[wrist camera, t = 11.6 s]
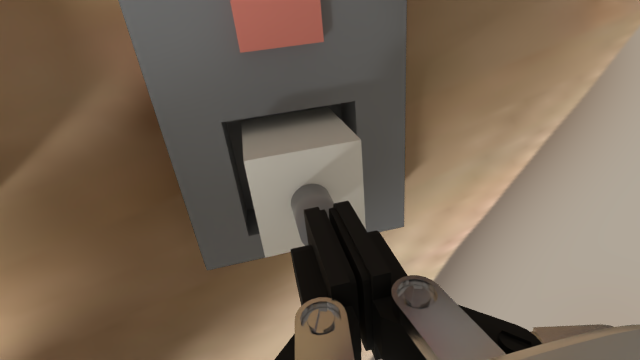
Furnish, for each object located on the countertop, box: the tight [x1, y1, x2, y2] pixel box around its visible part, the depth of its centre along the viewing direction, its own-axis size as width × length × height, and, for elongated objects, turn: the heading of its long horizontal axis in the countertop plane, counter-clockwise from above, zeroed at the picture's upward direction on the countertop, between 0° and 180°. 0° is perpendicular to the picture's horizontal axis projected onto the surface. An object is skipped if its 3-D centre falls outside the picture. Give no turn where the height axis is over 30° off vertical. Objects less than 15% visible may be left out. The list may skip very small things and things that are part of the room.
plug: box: [241, 107, 366, 258], centre depth 17 cm, size 5×5×8 cm
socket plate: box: [118, 0, 407, 270], centre depth 18 cm, size 16×12×4 cm
